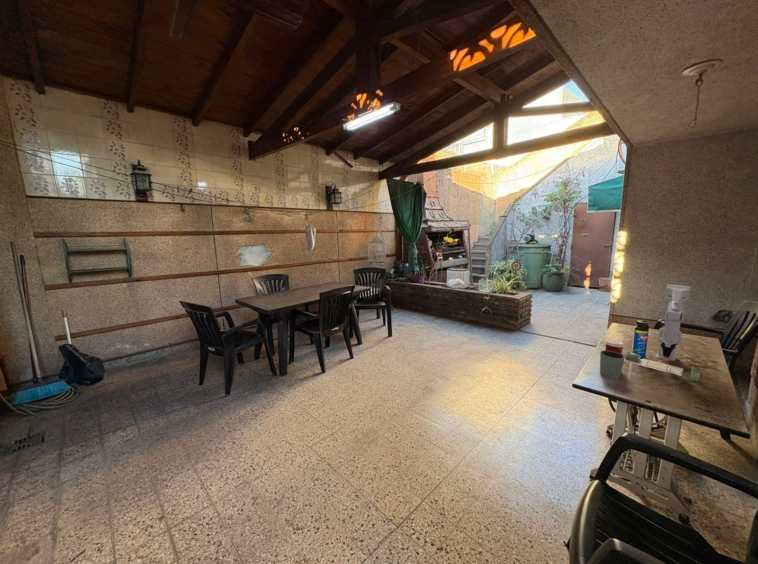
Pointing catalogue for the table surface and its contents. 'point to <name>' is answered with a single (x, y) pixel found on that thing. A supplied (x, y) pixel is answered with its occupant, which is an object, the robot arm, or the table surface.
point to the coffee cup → (614, 346)
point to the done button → (633, 355)
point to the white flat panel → (659, 366)
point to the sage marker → (695, 374)
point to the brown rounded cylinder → (666, 358)
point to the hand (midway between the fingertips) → (666, 355)
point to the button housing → (633, 358)
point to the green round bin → (611, 364)
